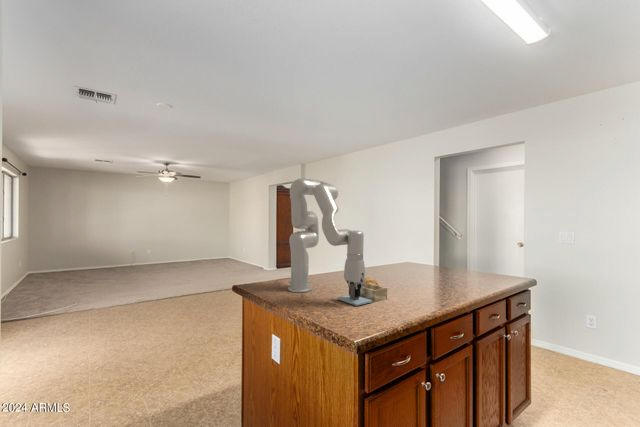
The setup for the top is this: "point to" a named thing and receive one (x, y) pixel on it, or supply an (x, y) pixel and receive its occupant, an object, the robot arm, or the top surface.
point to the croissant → (370, 281)
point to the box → (373, 292)
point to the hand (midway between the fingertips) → (354, 295)
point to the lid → (352, 299)
